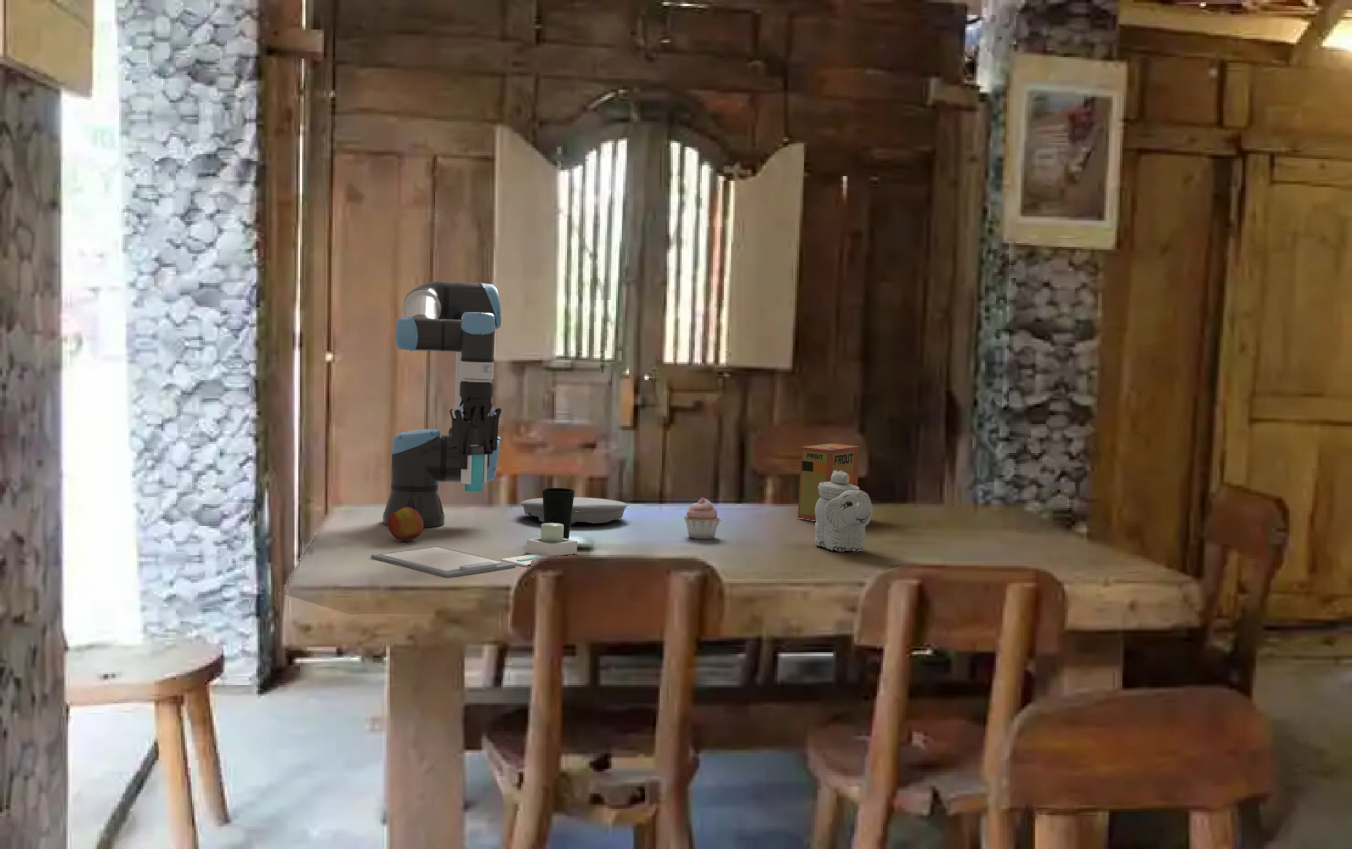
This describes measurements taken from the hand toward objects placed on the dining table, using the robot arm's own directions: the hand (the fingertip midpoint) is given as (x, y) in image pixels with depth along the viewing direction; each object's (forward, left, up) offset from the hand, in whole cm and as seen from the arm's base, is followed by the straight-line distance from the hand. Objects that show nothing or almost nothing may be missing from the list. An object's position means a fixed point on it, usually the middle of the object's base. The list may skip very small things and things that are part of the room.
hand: (473, 482), depth 303 cm
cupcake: (+24, +53, -15) cm, 60 cm away
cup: (+6, +21, -15) cm, 26 cm away
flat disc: (-14, +46, -15) cm, 50 cm away
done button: (+18, +8, -12) cm, 23 cm away
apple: (-13, -9, -15) cm, 22 cm away
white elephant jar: (+56, +68, -15) cm, 89 cm away
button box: (+18, +8, -15) cm, 24 cm away
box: (+24, +107, -15) cm, 111 cm away
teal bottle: (0, 0, -2) cm, 2 cm away
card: (+22, -2, -15) cm, 26 cm away
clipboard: (+12, -18, -15) cm, 26 cm away
